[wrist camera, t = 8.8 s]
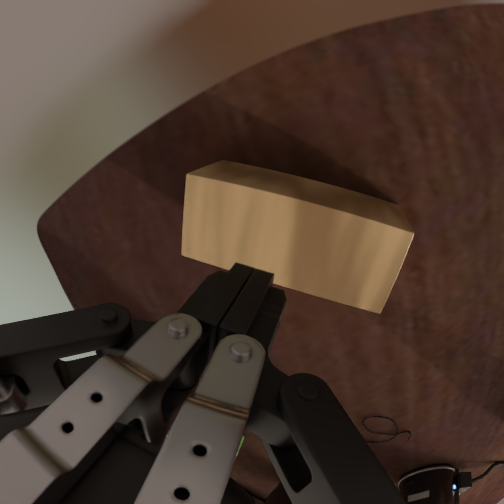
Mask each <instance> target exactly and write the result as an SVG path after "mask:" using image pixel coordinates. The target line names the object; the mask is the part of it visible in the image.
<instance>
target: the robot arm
mask: <svg viewBox="0 0 504 504" xmlns="http://www.w3.org/2000/svg"><path fill="white" fill-rule="evenodd" d="M273 280H274V273H271V272H267V271H264V270H260V269H257V268H254V267H251V266H247V265H244V264H241V263H237V262H236V263H235V264H234V265H233V266H232V268H231V269H230V270H229V272H228V273H226V272H222V271H217V272H215V273H213V274H211V275H209V276H208V277H207V278H206V279H205V280H204V281H203V283H202V285H200V286H199V287H198V288H197V290H196V291H195V292H194V293H193V294H192V295H191V297H190V298H189V299H188V300H187V301H186V303H185V304H184V305H183V306H182V307H181V308H180V310H179V311H178V312H177V313H172V314H168V315H165V316H163V317H162V318H160V319H159V320H158V321H157V322H145V321H138V320H132V319H131V317H130V313H129V311H128V310H127V309H126V308H125V307H123V306H122V305H119V304H114V303H107V304H101V305H97V306H92V307H87V308H82V309H78V310H73V311H68V312H63V313H59V314H53V315H48V316H43V317H39V318H33V319H29V320H23V321H18V322H13V323H8V324H3V325H0V504H255V503H254V501H253V500H252V498H251V497H250V496H249V494H248V493H247V492H246V491H245V490H244V489H243V488H242V487H241V486H240V485H239V484H238V483H237V482H236V481H234V480H233V479H232V478H230V474H231V471H232V468H233V464H234V461H235V458H236V455H237V452H238V449H239V446H240V443H241V439H242V436H243V433H244V430H245V427H246V428H247V429H249V430H250V431H252V432H253V433H255V434H256V435H257V436H259V437H260V438H261V440H262V443H263V445H264V447H265V449H266V451H267V454H268V456H269V458H270V460H271V462H272V464H273V466H274V468H275V470H276V472H277V474H278V476H279V478H280V480H281V482H282V484H283V486H284V488H285V490H286V492H287V494H288V496H289V498H290V500H291V502H292V504H459V502H460V500H459V494H461V493H462V492H464V491H466V490H468V489H469V488H471V487H472V483H474V482H476V481H478V480H480V479H482V478H483V477H485V476H486V475H487V474H488V473H489V472H490V471H491V470H492V469H493V468H494V467H496V466H503V467H504V462H496V463H494V464H492V465H491V466H490V467H489V468H488V469H487V470H486V472H484V473H483V474H482V475H480V476H478V477H476V478H474V479H472V478H471V472H460V473H459V469H455V468H454V467H453V466H451V465H433V466H428V467H423V468H420V469H417V470H414V471H411V472H409V473H407V474H405V475H403V476H402V477H401V478H400V479H399V480H398V486H399V488H398V489H397V488H396V486H395V485H394V483H393V482H392V480H391V479H390V477H389V476H388V474H387V473H386V472H385V470H384V469H383V467H382V466H381V464H380V463H379V461H378V460H377V458H376V457H375V455H374V454H373V452H372V451H371V449H370V448H369V446H368V445H367V443H366V442H365V440H364V439H363V437H362V436H361V434H360V433H359V431H358V430H357V428H356V427H355V425H354V424H353V422H352V421H351V419H350V418H349V416H348V415H347V413H346V412H345V410H344V409H343V407H342V406H341V404H340V403H339V401H338V400H337V398H336V397H335V395H334V394H333V392H332V391H331V389H330V388H329V386H328V385H327V384H326V383H325V382H324V381H323V380H322V379H320V378H319V377H317V376H314V375H312V374H307V373H298V374H294V375H291V376H287V375H286V374H284V373H282V372H281V371H279V370H278V369H277V368H276V367H275V366H274V365H273V364H272V363H271V361H270V359H269V357H268V354H269V352H270V349H271V346H272V344H273V341H274V338H275V336H276V333H277V330H278V327H279V324H280V320H281V317H282V313H283V310H284V306H285V303H286V297H285V293H284V290H281V289H277V288H274V287H272V284H273ZM94 350H95V351H96V354H97V355H94V356H89V357H85V358H81V359H76V360H72V361H62V360H60V359H59V358H63V357H68V356H72V355H77V354H81V353H86V352H90V351H94ZM203 372H204V374H203V376H202V378H201V380H200V382H199V378H200V376H201V374H202V373H203ZM172 424H173V425H172ZM171 426H172V427H171ZM170 427H171V429H170ZM169 429H170V432H169V434H168V436H167V433H168V431H169ZM166 436H167V438H166Z"/></svg>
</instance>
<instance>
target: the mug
mask: <svg viewBox="0 0 504 504" xmlns="http://www.w3.org/2000/svg"><path fill="white" fill-rule="evenodd" d="M265 504H292V502H291V500H290V498H289V496H288V494H287V492H286V490H285V488H284V486H283V484H282V482H280V483H279V485H278V486H277V487H276V488H275V489H274V490H273V491H272V492H271V493H270V495H269V496H268V498H267V500H266V502H265Z"/></svg>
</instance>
